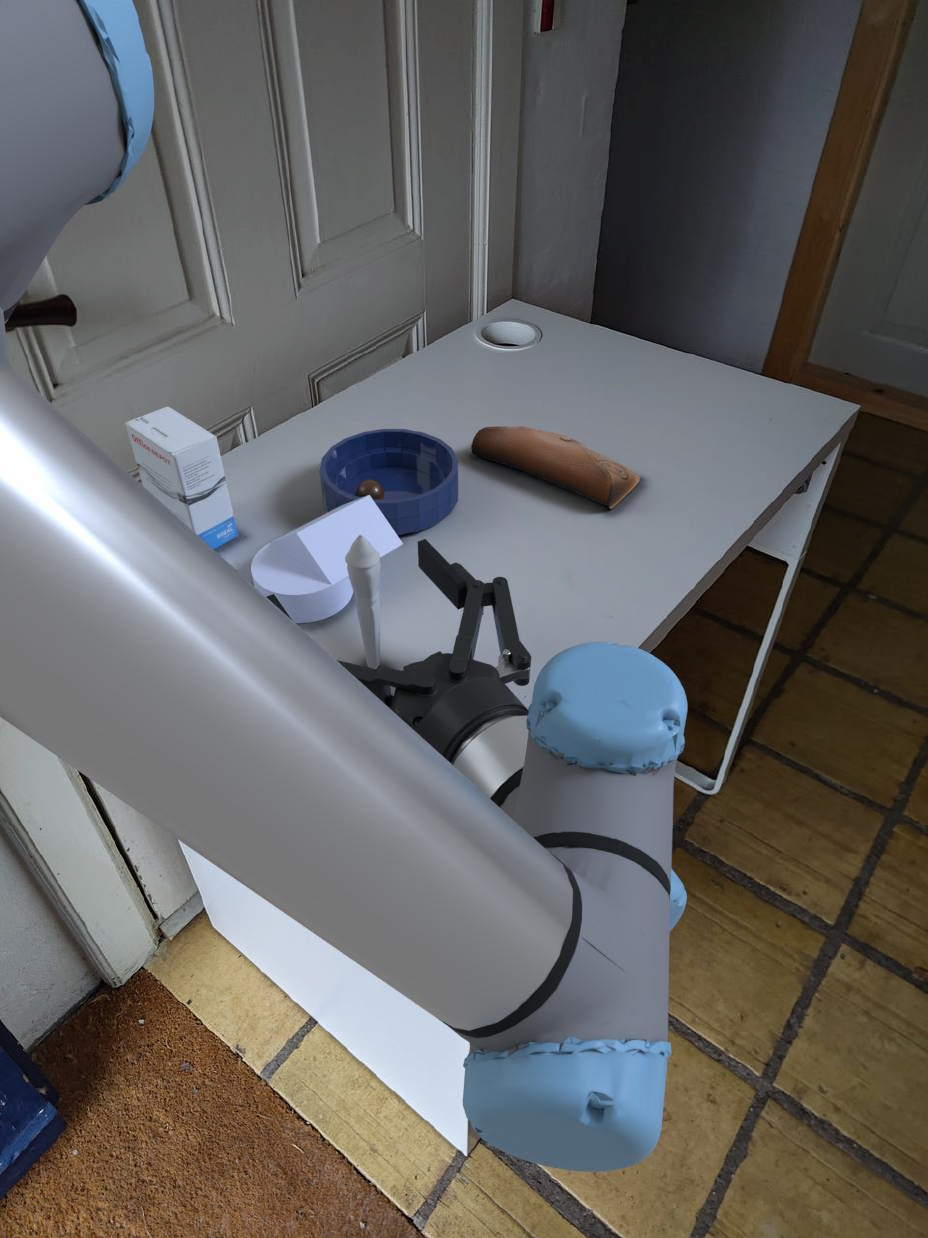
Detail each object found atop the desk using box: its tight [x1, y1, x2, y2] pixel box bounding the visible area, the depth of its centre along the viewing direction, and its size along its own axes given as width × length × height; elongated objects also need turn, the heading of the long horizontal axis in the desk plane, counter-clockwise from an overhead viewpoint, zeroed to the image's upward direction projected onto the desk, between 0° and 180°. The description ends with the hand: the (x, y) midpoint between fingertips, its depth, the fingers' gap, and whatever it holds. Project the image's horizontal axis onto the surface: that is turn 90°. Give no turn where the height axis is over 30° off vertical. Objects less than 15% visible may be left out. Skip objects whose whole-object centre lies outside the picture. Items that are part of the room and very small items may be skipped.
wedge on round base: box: [250, 495, 404, 624], centre depth 80 cm, size 9×7×13 cm
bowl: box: [318, 428, 459, 536], centre depth 91 cm, size 14×14×4 cm
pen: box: [345, 535, 382, 670], centre depth 69 cm, size 2×3×14 cm
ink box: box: [124, 406, 239, 551], centre depth 84 cm, size 8×5×12 cm, turn 46°
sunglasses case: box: [470, 425, 642, 510], centre depth 95 cm, size 18×7×7 cm
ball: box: [355, 479, 384, 500], centre depth 89 cm, size 3×3×3 cm
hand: (349, 579), depth 71 cm, fingers open, 13 cm apart
